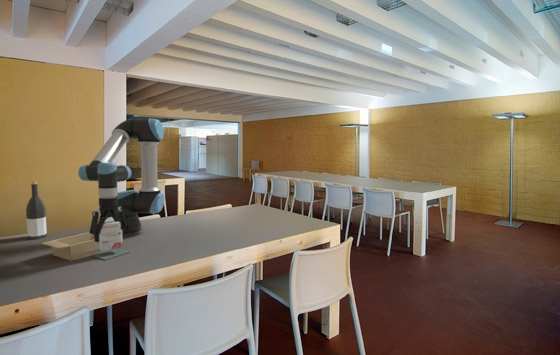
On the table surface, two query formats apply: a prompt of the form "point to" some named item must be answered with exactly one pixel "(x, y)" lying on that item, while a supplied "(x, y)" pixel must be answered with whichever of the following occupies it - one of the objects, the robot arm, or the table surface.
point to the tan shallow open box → (74, 246)
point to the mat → (109, 254)
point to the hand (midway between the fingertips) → (109, 245)
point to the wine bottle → (36, 215)
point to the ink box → (111, 235)
